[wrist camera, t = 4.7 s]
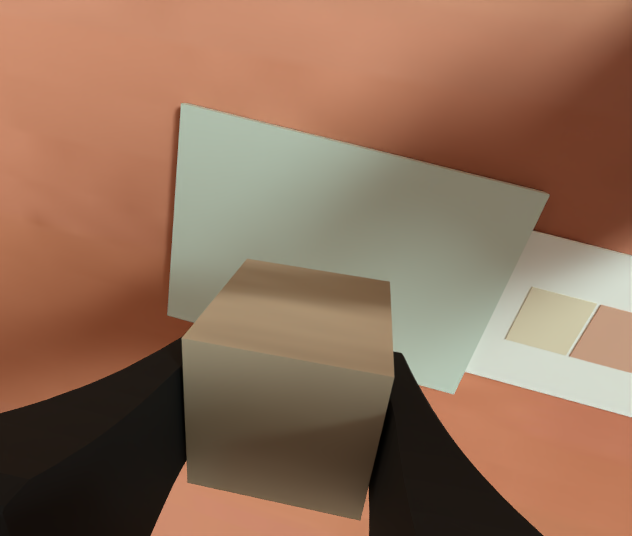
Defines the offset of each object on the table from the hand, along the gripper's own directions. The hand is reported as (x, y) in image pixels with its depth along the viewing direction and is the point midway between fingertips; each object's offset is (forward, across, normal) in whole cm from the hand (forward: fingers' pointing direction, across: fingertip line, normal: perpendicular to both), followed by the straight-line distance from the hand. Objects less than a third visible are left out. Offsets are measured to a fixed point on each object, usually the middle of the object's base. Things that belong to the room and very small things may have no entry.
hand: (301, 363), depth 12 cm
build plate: (+8, 0, 0) cm, 8 cm away
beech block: (+2, 0, 0) cm, 2 cm away
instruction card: (+8, -12, +2) cm, 15 cm away
